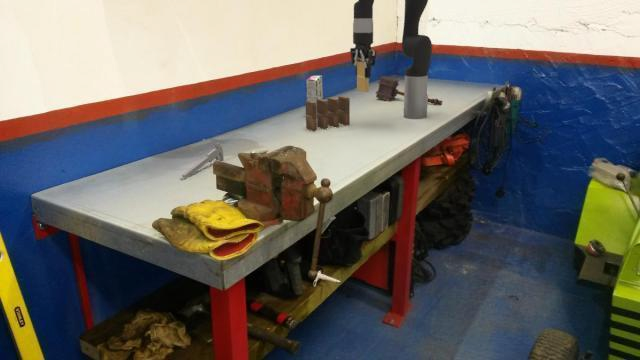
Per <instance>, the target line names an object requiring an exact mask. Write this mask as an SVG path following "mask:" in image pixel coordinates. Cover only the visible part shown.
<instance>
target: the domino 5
mask: <svg viewBox="0 0 640 360" xmlns="http://www.w3.org/2000/svg"><path fill="white" fill-rule="evenodd" d="M367 64H368V62H367ZM356 91H360V92H363V93H369V91H370V78H365V65H364V62H363V61H358V62H357V76H356Z"/></svg>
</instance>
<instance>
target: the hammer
mask: <svg viewBox="0 0 640 360" xmlns="http://www.w3.org/2000/svg"><path fill="white" fill-rule="evenodd" d="M377 84H378V90H376V91H375V94H376V96H375V98H377V99H380V100H383V101H386V102H392V101H394V100H396V97H397V96H398V95H400V96H403V97H404V91H399V89H397V87H398V86H400V85H399V84H400V83H399V79H397V78H393V77H390V76H386V75H383V76H380V77H379V80H378V82H377ZM393 99H394V100H393ZM391 100H392V101H391ZM428 103H430V104H433V105H434V106H437V105H438V106H439V105H440V106H441V105H443V100H441V99H438V98H428Z"/></svg>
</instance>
